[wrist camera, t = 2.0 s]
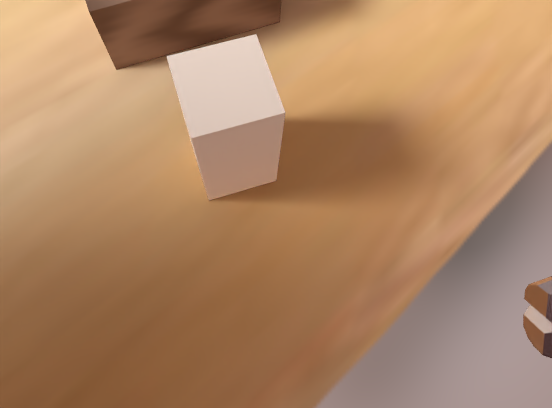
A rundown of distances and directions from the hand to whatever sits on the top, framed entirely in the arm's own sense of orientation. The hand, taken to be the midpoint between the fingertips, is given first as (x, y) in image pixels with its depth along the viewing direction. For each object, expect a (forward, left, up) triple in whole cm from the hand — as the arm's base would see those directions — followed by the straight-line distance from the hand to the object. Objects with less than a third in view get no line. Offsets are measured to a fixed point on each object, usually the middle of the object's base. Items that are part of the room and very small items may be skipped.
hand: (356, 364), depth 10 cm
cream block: (0, +13, -18) cm, 22 cm away
